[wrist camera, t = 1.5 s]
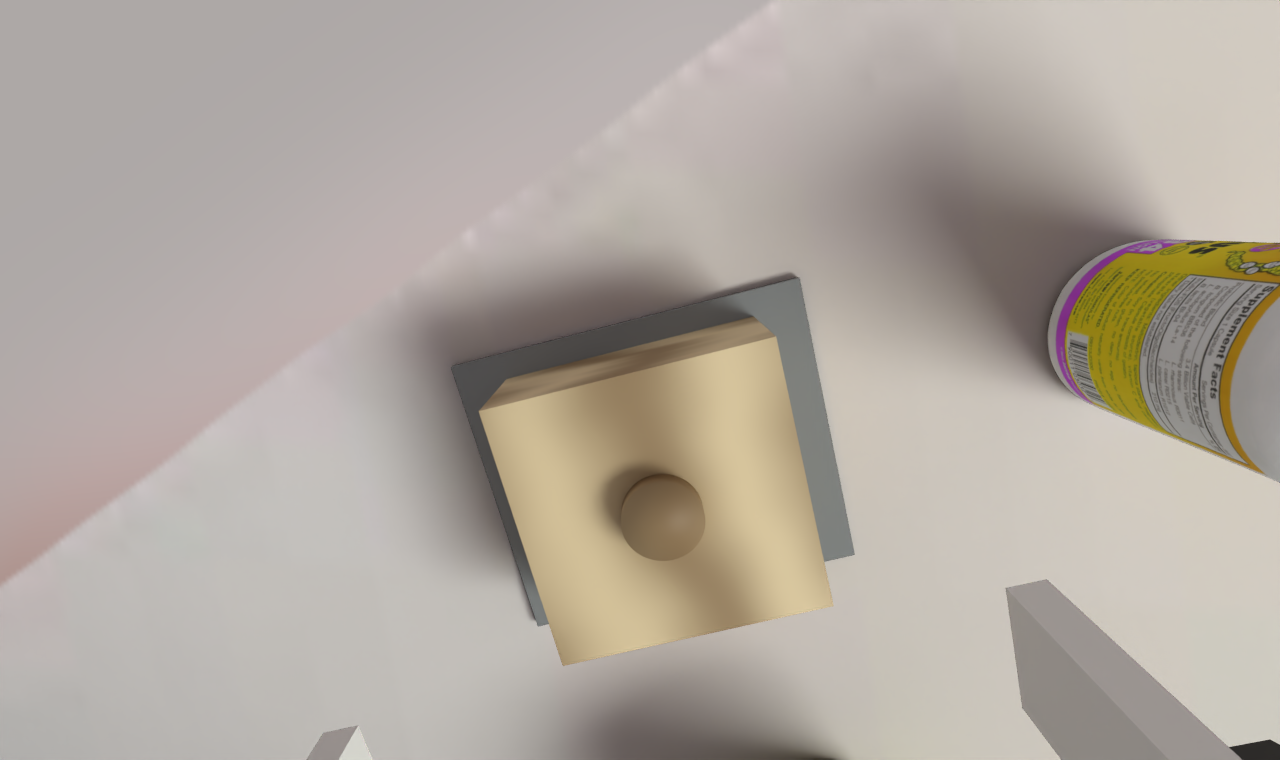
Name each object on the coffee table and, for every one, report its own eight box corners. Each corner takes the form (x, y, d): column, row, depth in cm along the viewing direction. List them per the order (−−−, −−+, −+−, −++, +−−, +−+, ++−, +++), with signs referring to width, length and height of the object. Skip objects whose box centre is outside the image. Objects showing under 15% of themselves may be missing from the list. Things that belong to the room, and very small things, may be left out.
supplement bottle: (1246, 277, 25) (1843, 334, 13) (1151, 429, 27) (1601, 616, 14) (1094, 210, 24) (1561, 201, 12) (1006, 370, 26) (1341, 509, 13)
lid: (575, 596, 28) (560, 680, 23) (506, 378, 26) (472, 418, 21) (803, 544, 27) (840, 619, 22) (753, 316, 25) (781, 340, 20)
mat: (539, 622, 29) (537, 626, 29) (453, 366, 26) (450, 367, 26) (852, 551, 28) (854, 554, 28) (797, 277, 25) (799, 277, 25)
